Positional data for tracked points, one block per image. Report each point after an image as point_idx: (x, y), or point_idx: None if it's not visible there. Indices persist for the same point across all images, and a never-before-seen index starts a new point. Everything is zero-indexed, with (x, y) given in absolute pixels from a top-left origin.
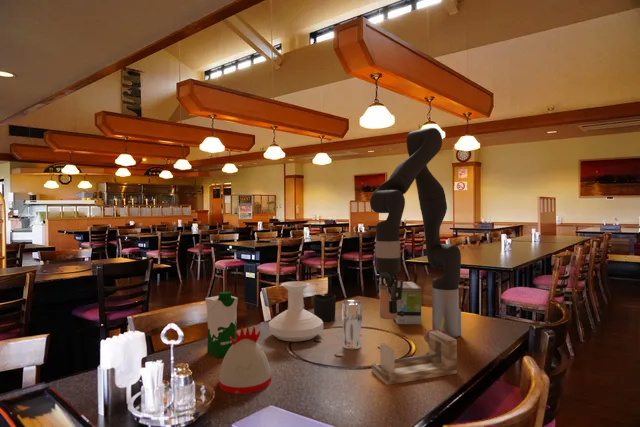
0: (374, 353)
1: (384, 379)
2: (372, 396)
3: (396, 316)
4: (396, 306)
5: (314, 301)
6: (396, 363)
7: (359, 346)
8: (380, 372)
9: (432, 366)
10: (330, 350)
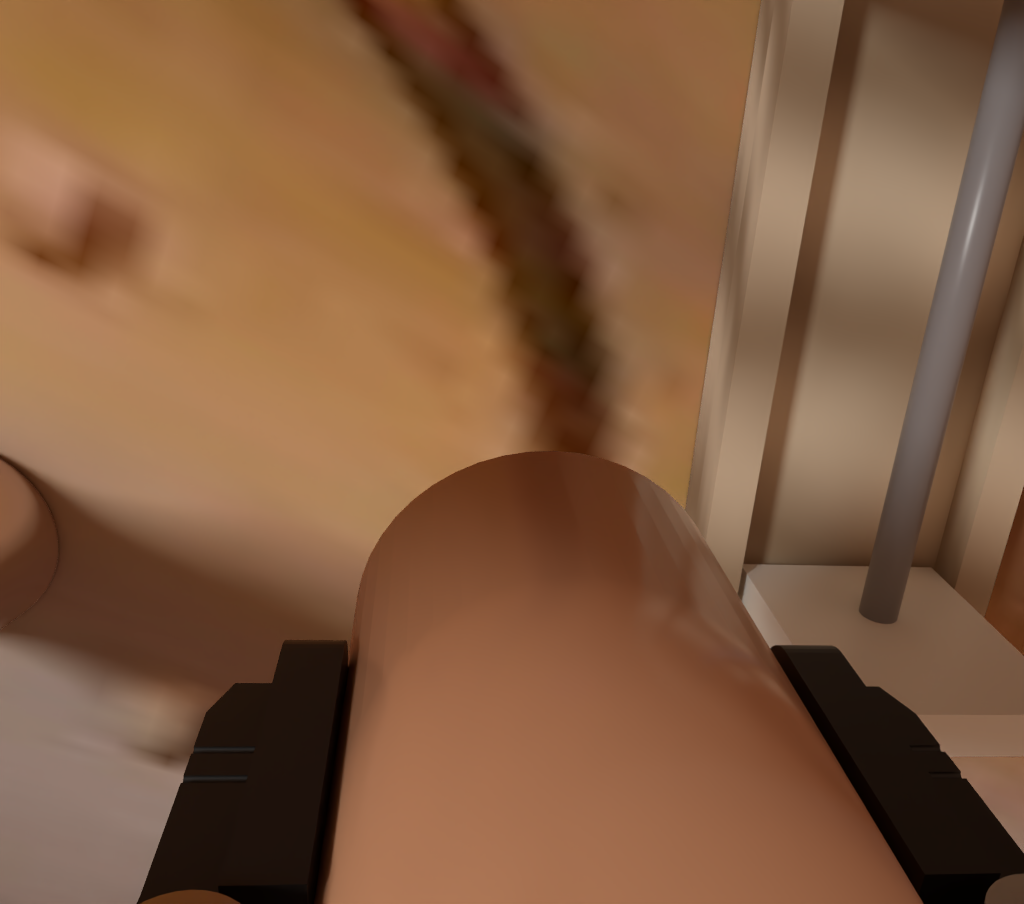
0: (241, 403)
1: None
2: (1009, 782)
3: (704, 539)
4: (967, 792)
5: None
6: (760, 444)
7: (26, 495)
8: None
9: (944, 69)
10: (24, 758)
